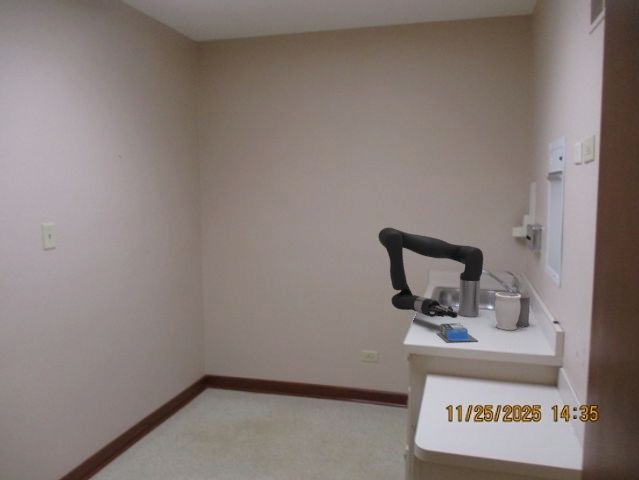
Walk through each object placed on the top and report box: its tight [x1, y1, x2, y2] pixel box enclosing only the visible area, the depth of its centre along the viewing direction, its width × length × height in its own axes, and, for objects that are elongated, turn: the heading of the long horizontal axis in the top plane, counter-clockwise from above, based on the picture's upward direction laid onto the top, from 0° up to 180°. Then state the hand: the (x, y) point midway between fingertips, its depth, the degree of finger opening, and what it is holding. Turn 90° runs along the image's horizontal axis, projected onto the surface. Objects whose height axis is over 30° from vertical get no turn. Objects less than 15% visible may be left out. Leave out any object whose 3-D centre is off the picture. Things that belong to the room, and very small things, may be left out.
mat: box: [436, 332, 479, 344], centre depth 194 cm, size 12×13×1 cm
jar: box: [494, 291, 521, 331], centre depth 207 cm, size 11×10×15 cm
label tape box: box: [439, 322, 471, 341], centre depth 194 cm, size 9×4×12 cm
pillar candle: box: [510, 291, 531, 328], centre depth 213 cm, size 10×10×15 cm
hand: (456, 315), depth 198 cm, fingers closed
